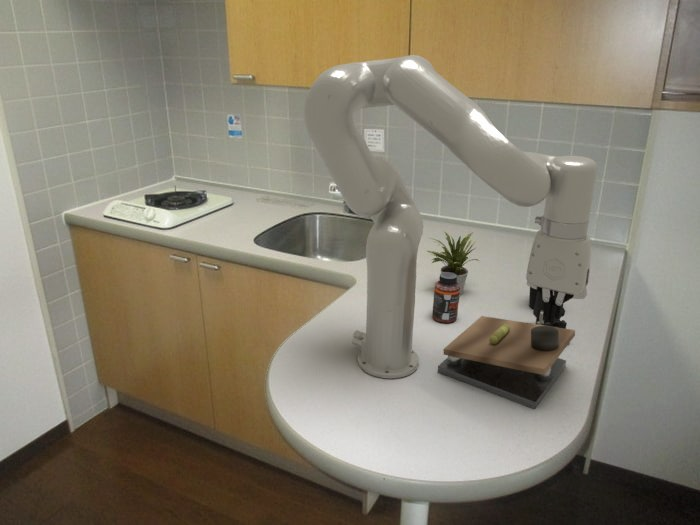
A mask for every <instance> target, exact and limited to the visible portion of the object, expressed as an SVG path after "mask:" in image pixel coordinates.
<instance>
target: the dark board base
mask: <svg viewBox="0 0 700 525" xmlns="http://www.w3.org/2000/svg"><path fill="white" fill-rule="evenodd" d="M566 365H567V359H562V358H559V357H558V358H557V360H556V361H555V362H554V364H553V365H552V366H551V367H550V369H549V370H548V371H547V373H546V374H545V375H541V374H536V373H532V372H527V371H522V370H517V369H512V368H507V367H502V366H497V365H492V364H487V363H482V362H478V361H473V360H468V359H463V358H458V357H453V356H448V355H447V358H445V359H444V360H443V361H442V362H440V364H438V366H437V373H438V374H441V375H442V376H443V375H444V376H446V377H448V378H452V379H455V380H457V381H460V382H463V383H465V384H467V385H469V386H472V387H475V388H478V389H480V390H483V391H486V392H488V393H491V394H494V395H497V396H498V397H502V398H504V399H507V400H510V401H512V402H514V403H517V404H520V405H522V406H525V407H527V408H530V409H532V410H533V409H534V410H535V409H536V408H537V406H538V405H539V404H540V403H541V401H542V400H543V399H544V397H545V396H546V394H547V393H548V392H549V390H550V389H551V387H552V386H553V384H555V382H556V381H557V379H558V377H559V376H560V375H561V374H562V373H563V370H564V369H565V368H566Z"/></svg>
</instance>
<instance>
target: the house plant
mask: <svg viewBox="0 0 700 525" xmlns="http://www.w3.org/2000/svg"><path fill="white" fill-rule="evenodd" d="M443 233H444V234H445V236H446V237H445V240H446V241H447V242H448V244H447V245H448V247H449V249H448V248H447V247H446V245H445V244H444V243H443V242H442V241H440V240H438V239H435V238H432V237H431V238H430V237H429V239H430V240H434V241H435V242H437V243H439V244H438V246H440V247H442V249H443V251H441V252H438V251H433V250H426V252H428V253H430V255H431V256H435V257H434V258H432V259H431V261H432V262H431V264H430V265H432V264H433V263H438V262H443V263H444V264H445V265H444V266H442V267H441V268H440V274H441V273H443V272H451V273H454V274H456V275H457V283H458V284H459V285H460V294H459V296H461V295H462V294H463V292H464V287H465V285H466V281H467V277H468V275H469V270H468V269H467V268H465V264H467V263H468V262H471V261H478V262H479V263H480V262H481V261H480V260H479V259H477V258H475V259H473V258H472V259H470V260H468V259H469V257H468V255H469V254H470V253H472V251H474V250H476V248H477V247H474V248H473V246H474V244H476V241H474V242H473V243H472V241H473V239H474V238H473V237H472V238H471V236H472V235H473V234H474V231H473V232H469V234H467V235H466V236H464V238H461V237H462V236H461V235H460V236H459V237H458V240H457V241H456V243H455V239H454V238H453V236H451V235H449V234H448V232H446V231H444V230H443ZM470 238H471V239H470ZM461 239H462V240H461ZM469 239H470V241H469ZM434 241H432V242H433V243H434ZM468 241H469V242H468ZM467 243H468V244H467ZM471 243H472V244H471ZM466 244H467V245H466ZM465 246H466V247H465ZM469 246H470V247H469ZM472 248H473V249H472Z"/></svg>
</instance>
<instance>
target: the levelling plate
mask: <svg viewBox="0 0 700 525" xmlns="http://www.w3.org/2000/svg"><path fill="white" fill-rule="evenodd" d="M575 335H576V330H575V329H570V328H569V329H568V328H566V329H564V328H558V327H551V326H545V325H538V324H536V323H531V322H524V321H519V320H517V321H516V320H511V319H505V318H497V317H492V316H484V315H482V316H480V317H479V318H477V319H476V320H475V321H474V322H473V323H472V324H471V325H469V326H468V327H467V328H466V329H465V330H463V332H461V333H460V334H459V335H457V337H455V339H453V340H452V341H451V342H450V343H449V344H448V345H446V346H445V347H444V348H443V350H442V351H443V356H447V357H448V356H453V357H458V358H463V359H468V360H473V361H478V362H482V363H487V364H492V365H497V366H502V367H507V368H512V369H517V370H522V371H527V372H532V373H536V374H541V375H545V374H546V373H547V371H548V370H549V369H550V367H551V366H552V365H553V364H554V362H555V361H556V360H557V358H559V357H560V356H561V354H562V353H563V352H564V351H565V349H566V347H568V345H569V344H570V343H571V341H572V340H573V338H575Z"/></svg>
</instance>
